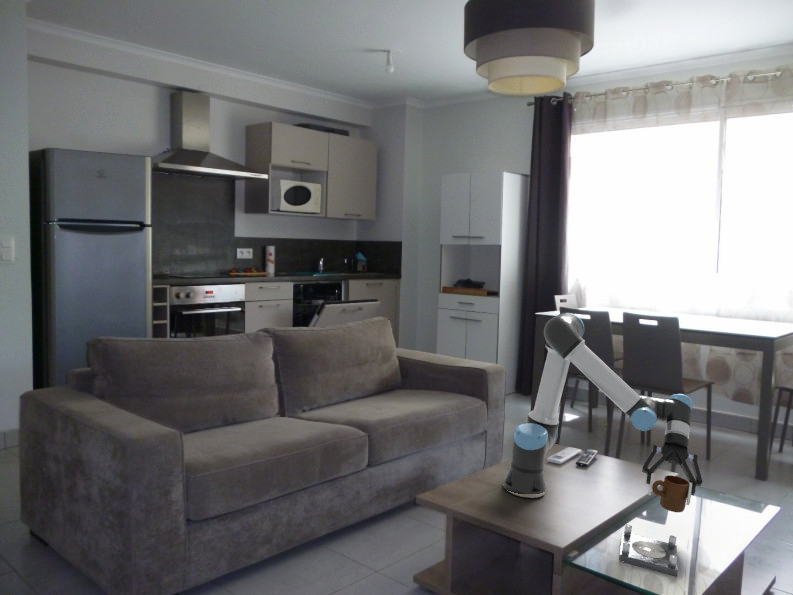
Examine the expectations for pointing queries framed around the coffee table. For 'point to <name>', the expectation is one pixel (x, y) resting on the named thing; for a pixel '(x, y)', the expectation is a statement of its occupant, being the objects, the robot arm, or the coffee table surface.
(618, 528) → the coffee table surface
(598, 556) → the coffee table surface
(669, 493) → the mug
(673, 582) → the coffee table surface
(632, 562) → the chassis
